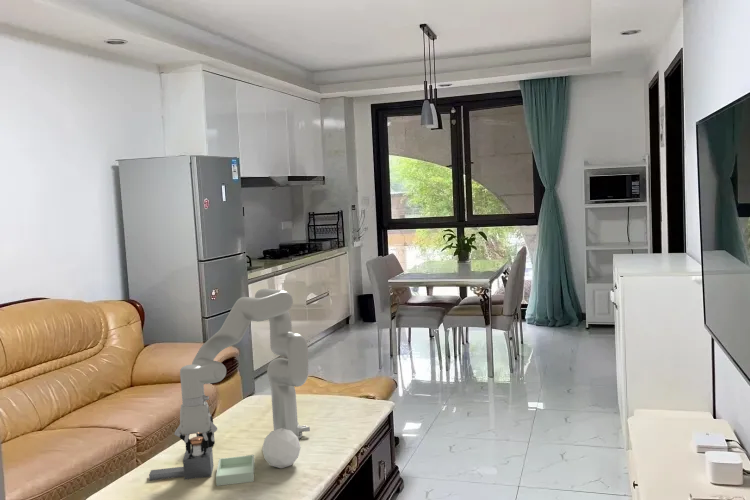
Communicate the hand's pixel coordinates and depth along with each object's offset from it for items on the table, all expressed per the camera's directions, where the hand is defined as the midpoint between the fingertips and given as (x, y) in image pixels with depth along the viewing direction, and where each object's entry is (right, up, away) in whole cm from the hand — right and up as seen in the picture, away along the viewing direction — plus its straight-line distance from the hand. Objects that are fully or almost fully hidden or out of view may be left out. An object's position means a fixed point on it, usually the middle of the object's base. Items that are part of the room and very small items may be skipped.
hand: (197, 450), depth 231 cm
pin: (0, -8, +1) cm, 8 cm away
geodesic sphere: (+29, -6, +3) cm, 30 cm away
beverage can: (-3, -6, +25) cm, 26 cm away
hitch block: (-5, -8, 0) cm, 10 cm away
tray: (+14, -7, -2) cm, 16 cm away
